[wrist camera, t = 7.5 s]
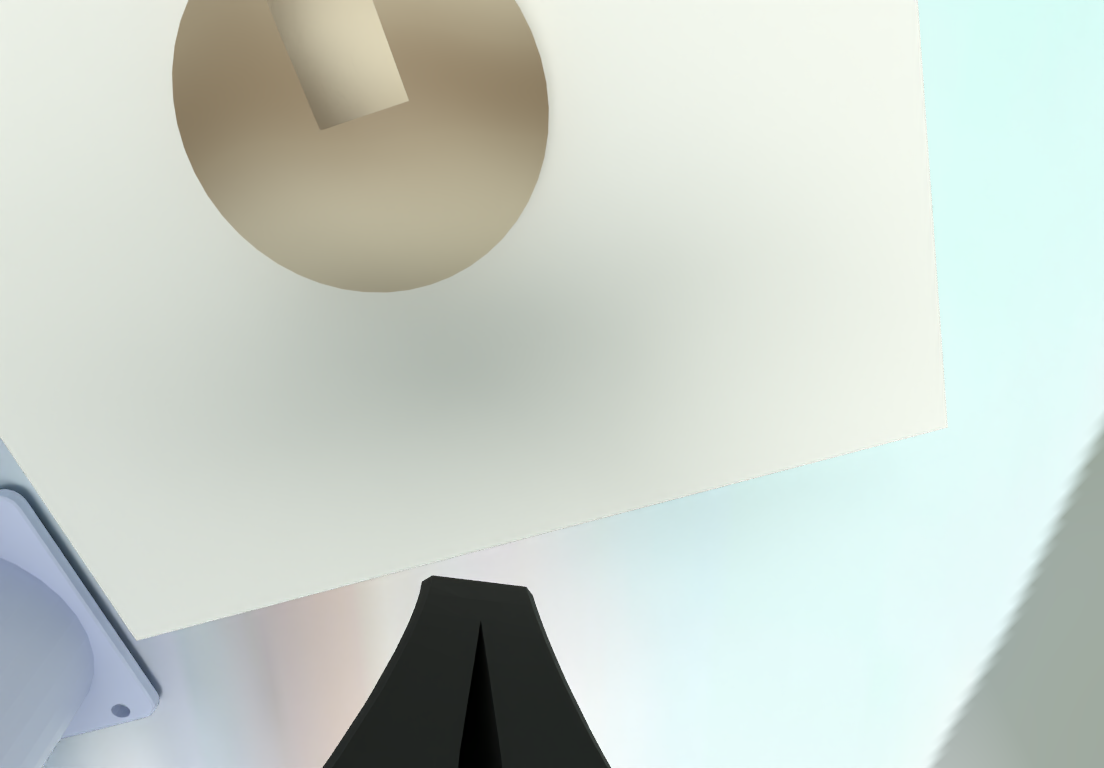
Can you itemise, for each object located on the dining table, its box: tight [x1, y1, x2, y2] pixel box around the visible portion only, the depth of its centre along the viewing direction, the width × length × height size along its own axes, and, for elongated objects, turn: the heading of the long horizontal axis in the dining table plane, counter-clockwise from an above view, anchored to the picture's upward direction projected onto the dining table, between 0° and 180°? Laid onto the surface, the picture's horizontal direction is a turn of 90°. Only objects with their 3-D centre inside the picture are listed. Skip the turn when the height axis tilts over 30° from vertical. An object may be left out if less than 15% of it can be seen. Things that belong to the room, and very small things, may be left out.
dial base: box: [0, 0, 948, 641], centre depth 16 cm, size 22×22×1 cm
